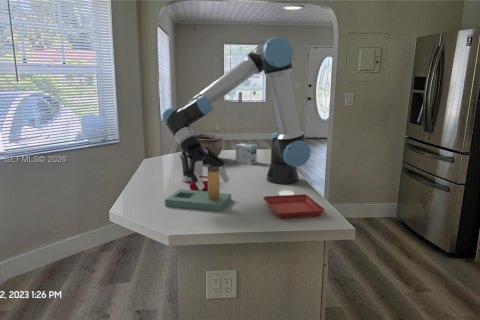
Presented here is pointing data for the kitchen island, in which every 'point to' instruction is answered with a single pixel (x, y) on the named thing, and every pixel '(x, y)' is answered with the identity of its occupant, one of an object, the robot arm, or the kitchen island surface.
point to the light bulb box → (246, 153)
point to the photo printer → (197, 169)
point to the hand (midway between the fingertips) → (215, 185)
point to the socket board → (197, 200)
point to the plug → (213, 182)
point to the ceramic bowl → (211, 142)
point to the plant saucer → (293, 206)
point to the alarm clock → (205, 182)
